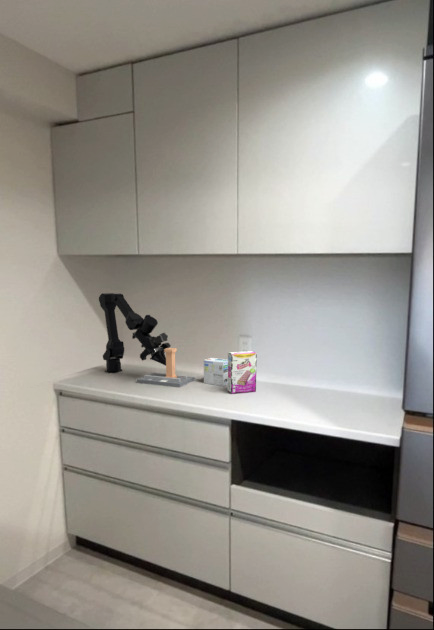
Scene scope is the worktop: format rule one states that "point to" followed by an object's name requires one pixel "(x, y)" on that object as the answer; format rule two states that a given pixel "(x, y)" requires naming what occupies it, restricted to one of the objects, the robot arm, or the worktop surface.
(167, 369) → the orange square pillar
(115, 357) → the robot arm
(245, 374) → the candy bar box
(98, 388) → the worktop surface
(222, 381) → the light bulb box
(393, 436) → the worktop surface
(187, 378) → the grey base plate
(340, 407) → the worktop surface
